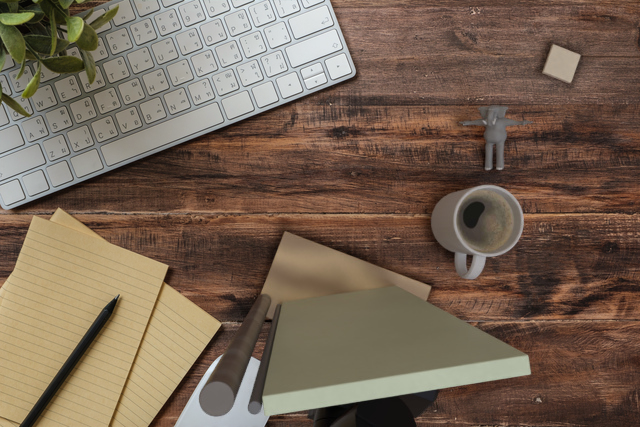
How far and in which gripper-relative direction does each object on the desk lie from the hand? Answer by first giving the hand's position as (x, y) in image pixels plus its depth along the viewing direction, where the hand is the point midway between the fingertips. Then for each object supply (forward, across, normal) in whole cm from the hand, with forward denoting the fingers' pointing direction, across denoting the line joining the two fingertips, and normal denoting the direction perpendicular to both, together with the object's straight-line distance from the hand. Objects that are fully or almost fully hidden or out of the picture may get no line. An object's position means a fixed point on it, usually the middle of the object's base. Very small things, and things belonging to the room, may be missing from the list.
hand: (362, 311), depth 60 cm
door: (+4, -2, -5) cm, 7 cm away
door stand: (+5, -2, -5) cm, 8 cm away
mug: (+16, +10, +5) cm, 20 cm away
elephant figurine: (+26, +10, +15) cm, 32 cm away
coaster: (+35, +16, +25) cm, 47 cm away
